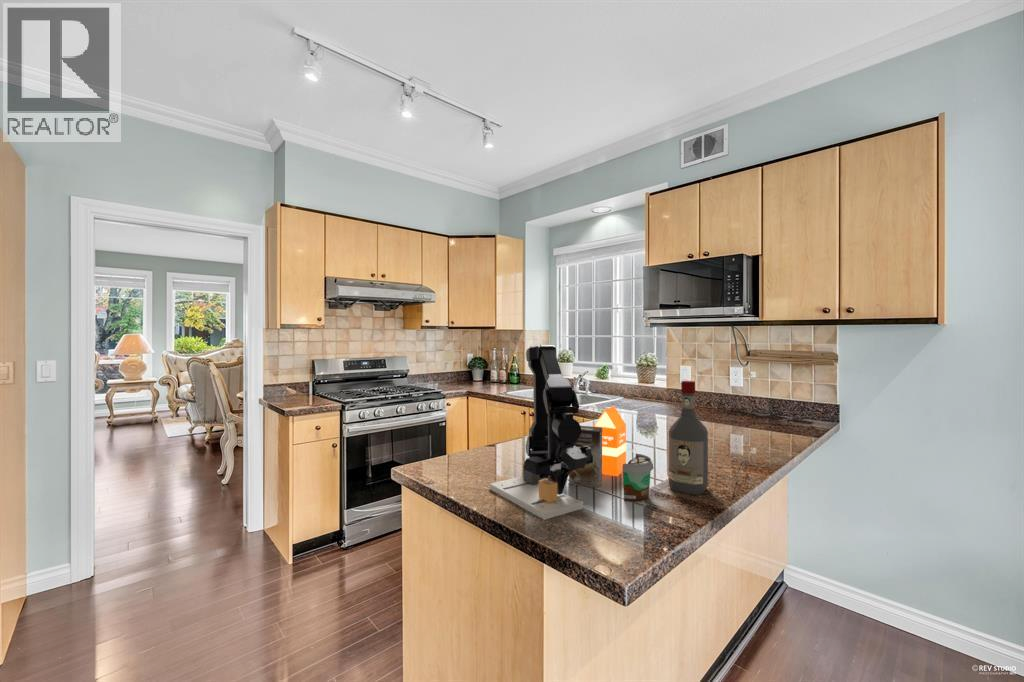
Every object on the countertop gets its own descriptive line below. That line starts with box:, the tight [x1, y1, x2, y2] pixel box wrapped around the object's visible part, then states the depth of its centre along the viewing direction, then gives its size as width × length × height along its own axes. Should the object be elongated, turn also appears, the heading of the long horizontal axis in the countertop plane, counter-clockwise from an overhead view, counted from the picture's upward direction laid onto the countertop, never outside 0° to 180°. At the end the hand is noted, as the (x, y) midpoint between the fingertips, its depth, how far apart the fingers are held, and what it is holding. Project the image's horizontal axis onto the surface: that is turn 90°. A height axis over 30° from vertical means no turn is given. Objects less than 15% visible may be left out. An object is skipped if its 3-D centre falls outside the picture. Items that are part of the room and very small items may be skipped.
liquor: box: [668, 380, 709, 496], centre depth 125 cm, size 9×9×30 cm
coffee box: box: [568, 425, 603, 488], centre depth 131 cm, size 9×6×16 cm
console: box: [489, 475, 584, 521], centre depth 118 cm, size 12×25×2 cm, turn 33°
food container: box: [622, 453, 654, 503], centre depth 119 cm, size 12×6×10 cm, turn 148°
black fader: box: [522, 464, 541, 484], centre depth 126 cm, size 3×4×5 cm
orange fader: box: [539, 478, 557, 502], centre depth 113 cm, size 3×4×5 cm
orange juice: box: [592, 406, 627, 477], centre depth 142 cm, size 8×9×20 cm
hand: (559, 494), depth 115 cm, fingers closed
